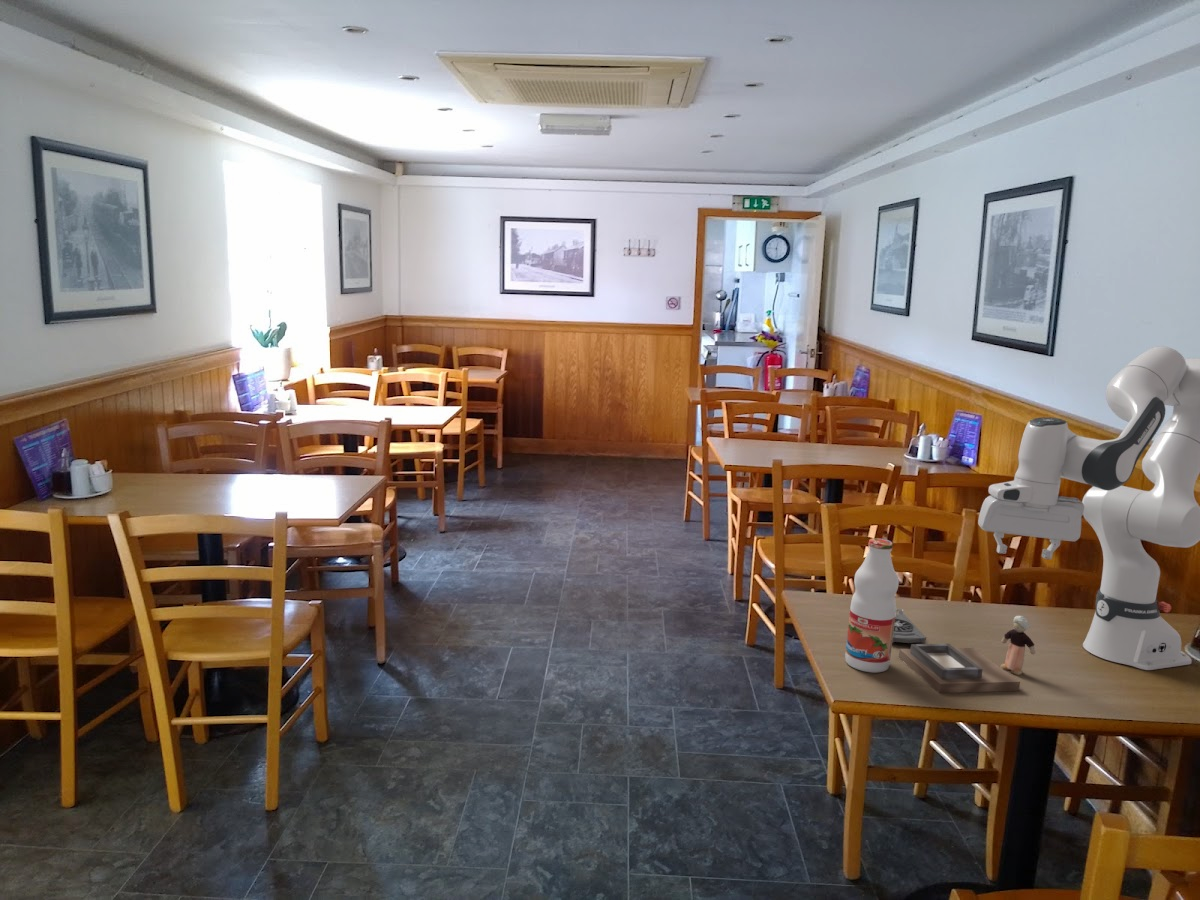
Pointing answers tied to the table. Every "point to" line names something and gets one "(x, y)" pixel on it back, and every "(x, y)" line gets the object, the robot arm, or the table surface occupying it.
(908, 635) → the graphics card
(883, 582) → the fruit juice
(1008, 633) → the grandmother figurine
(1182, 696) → the table surface
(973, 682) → the display stand
